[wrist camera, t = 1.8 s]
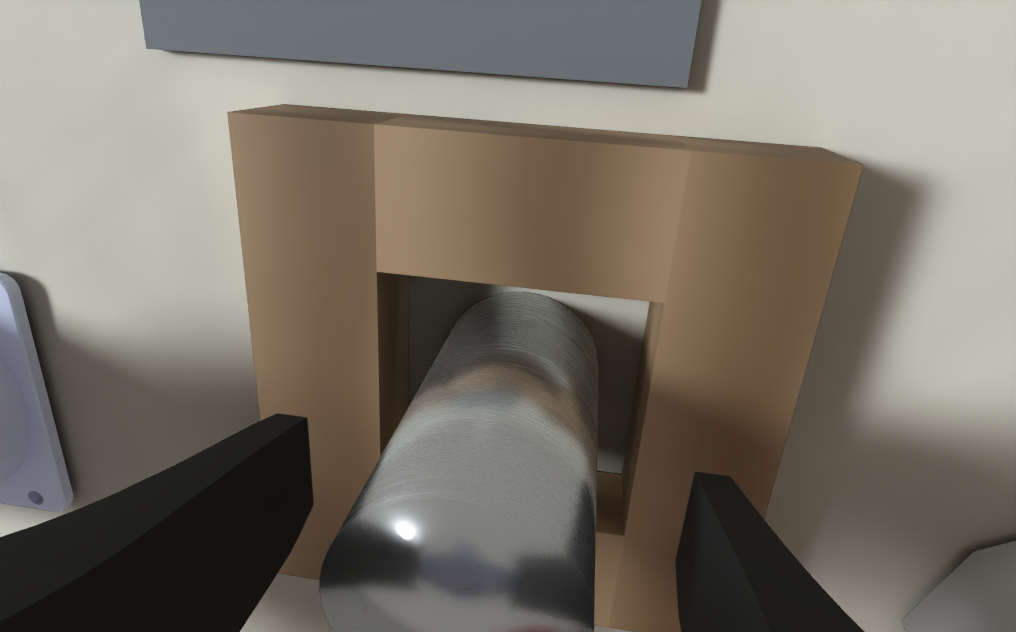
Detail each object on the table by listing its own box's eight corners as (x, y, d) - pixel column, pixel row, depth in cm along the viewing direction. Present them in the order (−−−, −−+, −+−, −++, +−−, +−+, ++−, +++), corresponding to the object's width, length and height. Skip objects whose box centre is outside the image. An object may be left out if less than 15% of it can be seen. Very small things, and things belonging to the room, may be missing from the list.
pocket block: (314, 514, 19) (276, 572, 17) (284, 104, 15) (227, 111, 12) (712, 575, 18) (728, 647, 16) (820, 147, 13) (862, 165, 11)
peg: (443, 419, 17) (326, 685, 10) (447, 283, 16) (311, 479, 8) (589, 438, 17) (578, 730, 9) (608, 300, 15) (611, 523, 8)
